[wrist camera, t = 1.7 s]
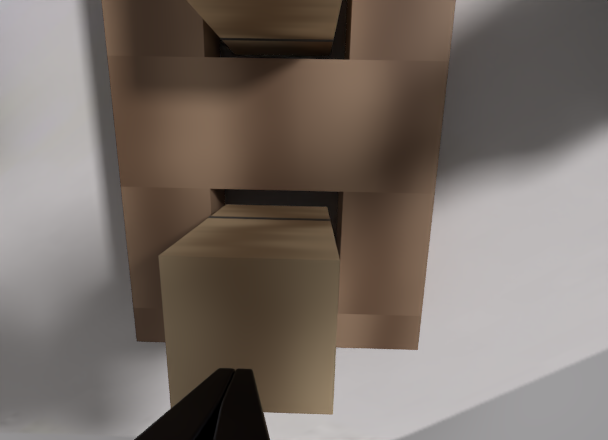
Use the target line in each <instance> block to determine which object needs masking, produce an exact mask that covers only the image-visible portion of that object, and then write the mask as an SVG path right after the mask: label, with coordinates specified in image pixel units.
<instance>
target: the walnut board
mask: <svg viewBox="0 0 608 440" xmlns="http://www.w3.org/2000/svg"><path fill="white" fill-rule="evenodd" d="M455 2H456V0H347V8H346V31H345V53H344V60H341V59H282V58H223V57H220V39H221V40H222V41H223V42H224V43H225V44H226V45H227V46H228V47H229V49H230V50H231V51H232V52H233V53H234V54H235V55H286V56H330V53H331V48H332V44H333V41H334V35H335V30H336V25H337V21H338V16H339V12H340V7H341V3H342V0H102V10H103V19H104V29H105V39H106V48H107V58H108V68H109V77H110V87H111V97H112V106H113V116H114V126H115V135H116V145H117V155H118V164H119V174H120V183H121V193H122V203H123V212H124V222H125V232H126V241H127V251H128V261H129V270H130V280H131V290H132V299H133V309H134V319H135V328H136V338H137V341H141V342H165V330H164V318H163V306H162V293H161V281H160V269H159V257H158V256H159V255H160V254H161V253H163V252H164V251H165V250H167V249H168V248H169V247H171V246H172V245H173V244H175V243H176V242H177V241H179V240H180V239H181V238H182V237H184V236H185V235H186V234H188V233H189V232H190V231H192V230H193V229H194V228H196V227H197V226H198V225H200V224H201V223H202V222H204V221H205V220H206V219H208V217H209V216H212V215H213V214H214V213H216V212H217V211H218V210H220V209H221V208H222V207H223V206H225V189H247V190H291V191H334V192H338V214H337V237H336V246H337V250H338V254H339V259H340V270H339V291H338V313H337V334H336V347H341V348H374V349H407V350H418V342H419V332H420V323H421V314H422V305H423V296H424V287H425V277H426V268H427V259H428V250H429V241H430V231H431V222H432V213H433V204H434V195H435V185H436V176H437V167H438V158H439V149H440V140H441V130H442V121H443V112H444V103H445V94H446V84H447V75H448V66H449V57H450V48H451V39H452V29H453V20H454V11H455Z"/></svg>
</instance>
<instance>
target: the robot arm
mask: <svg viewBox="0 0 608 440" xmlns="http://www.w3.org/2000/svg"><path fill="white" fill-rule="evenodd" d="M134 440H270V438H269V434H268V430H267V425H266V421H265V417H264V413H263V409H262V405H261V401H260V397H259V393H258V389H257V385H256V381H255V377H254V373H253V370H252V369H244V368H238V369H236V370H235V369H234V368H218V369H217V370H216V371H215V372H213V373H212V374H211V375H210V376H209V377H207V378H206V379H205V380H204V381H203V382H202V383H200V384H199V385H198V386H197V387H196V388H194V389H193V390H192V391H191V392H190V393H189V394H187V395H186V396H185V397H184V398H183V399H182V400H180V401H179V402H178V403H177V404H176V405H174V406H173V407H172V408H171V409H170V410H169V411H167V412H166V413H165V414H164V415H163V416H161V417H160V418H159V419H158V420H157V421H156V422H154V423H153V424H152V425H151V426H150V427H148V428H147V429H146V430H145V431H144V432H143V433H141V434H140V435H139V436H138V437H137V438H136V439H134Z"/></svg>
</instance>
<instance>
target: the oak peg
mask: <svg viewBox="0 0 608 440" xmlns="http://www.w3.org/2000/svg"><path fill="white" fill-rule="evenodd" d="M158 257H159V269H160V281H161V293H162V306H163V318H164V330H165V342H166V354H167V367H168V379H169V391H170V403H171V408H172V407H173V406H174V405H176V404H177V403H178V402H179V401H180V400H182V399H183V398H184V397H185V396H186V395H187V394H189V393H190V392H191V391H192V390H193V389H194V388H196V387H197V386H198V385H199V384H200V383H202V382H203V381H204V380H205V379H206V378H207V377H209V376H210V375H211V374H212V373H213V372H215V371H216V370H217V369H218V368H234V369H235V370H236V369H238V368H244V369H252V370H253V373H254V377H255V381H256V385H257V389H258V393H259V397H260V401H261V405H262V409H263V412H273V413H304V414H333V398H334V377H335V355H336V334H337V313H338V291H339V270H340V259H339V254H338V250H337V246H336V242H335V238H334V233H333V229H332V225H331V219H330V217H329V213H328V208H327V207H314V206H271V205H229V204H226V205H225V206H223V207H222V208H221V209H220V210H218V211H217V212H216V213H214V214H213V215H212V216H209V217H208V219H206V220H205V221H204V222H202V223H201V224H200V225H198V226H197V227H196V228H194V229H193V230H192V231H190V232H189V233H188V234H186V235H185V236H184V237H182V238H181V239H180V240H179V241H177V242H176V243H175V244H173V245H172V246H171V247H169V248H168V249H167V250H165V251H164V252H163V253H161V254H160V255H159V256H158Z"/></svg>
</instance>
